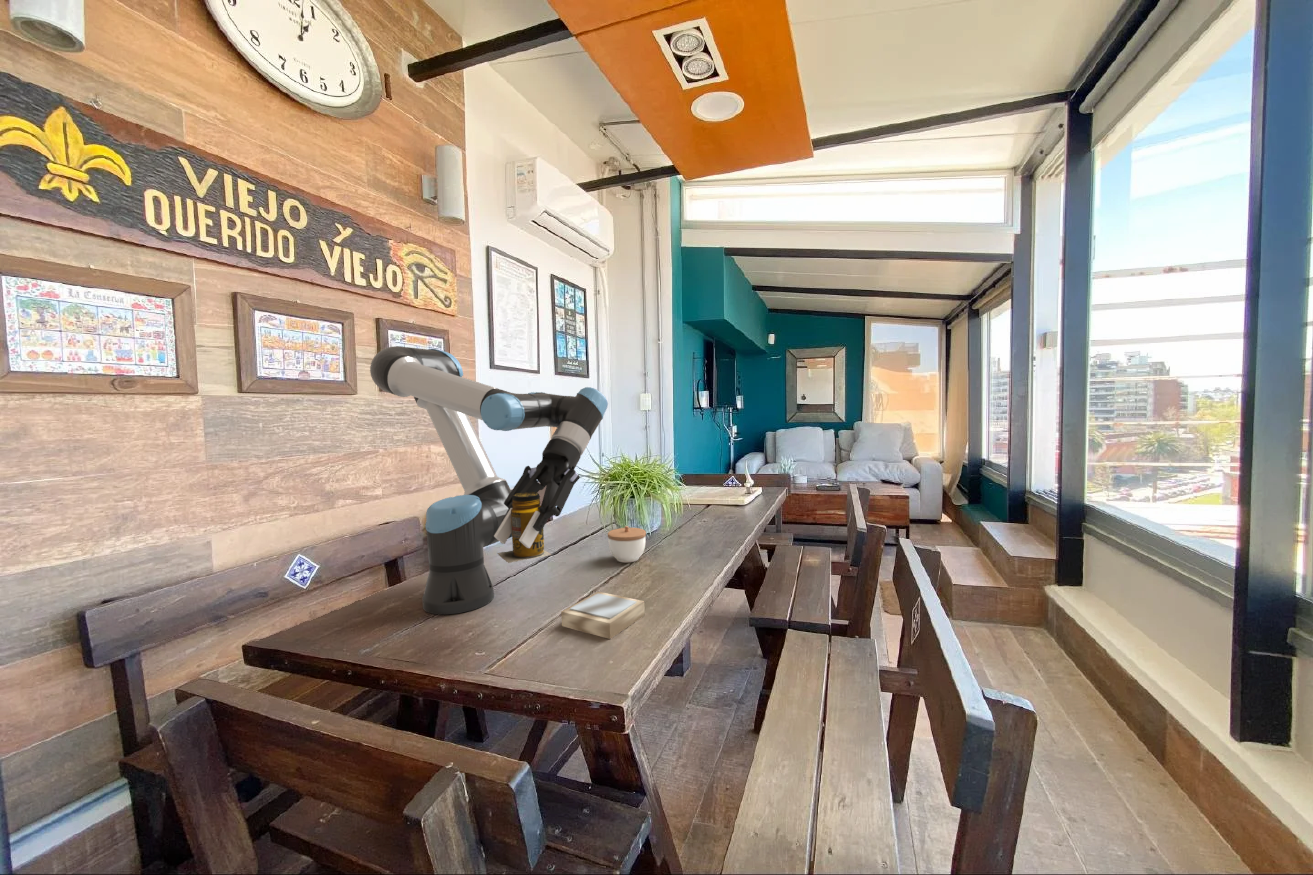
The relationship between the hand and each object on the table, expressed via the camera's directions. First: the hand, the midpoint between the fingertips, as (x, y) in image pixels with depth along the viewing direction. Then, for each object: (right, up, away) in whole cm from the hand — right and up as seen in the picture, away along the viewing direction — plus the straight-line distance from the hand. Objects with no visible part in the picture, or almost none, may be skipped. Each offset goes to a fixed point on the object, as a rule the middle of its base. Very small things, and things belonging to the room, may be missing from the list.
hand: (511, 542), depth 98 cm
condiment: (+1, -3, +4) cm, 5 cm away
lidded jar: (+19, -15, +48) cm, 53 cm away
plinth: (+17, -17, +7) cm, 25 cm away
